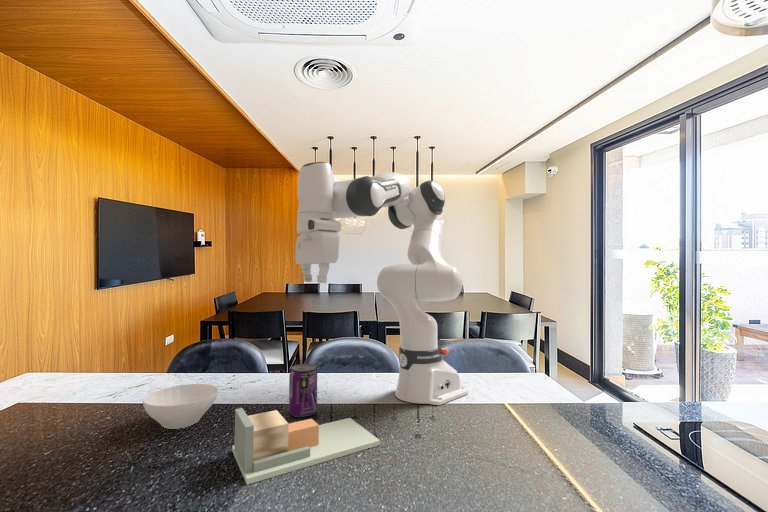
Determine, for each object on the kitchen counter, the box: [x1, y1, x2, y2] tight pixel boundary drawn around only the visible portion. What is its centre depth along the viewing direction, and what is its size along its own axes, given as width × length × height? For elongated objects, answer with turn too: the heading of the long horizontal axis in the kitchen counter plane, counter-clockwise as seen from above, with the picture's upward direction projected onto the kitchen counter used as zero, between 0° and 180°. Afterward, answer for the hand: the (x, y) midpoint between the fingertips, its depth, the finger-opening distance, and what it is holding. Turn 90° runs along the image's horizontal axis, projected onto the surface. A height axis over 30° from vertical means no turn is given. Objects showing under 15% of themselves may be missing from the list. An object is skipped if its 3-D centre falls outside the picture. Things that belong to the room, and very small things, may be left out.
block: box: [247, 409, 289, 461], centre depth 71 cm, size 6×8×6 cm
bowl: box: [142, 383, 219, 430], centre depth 88 cm, size 16×16×7 cm
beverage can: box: [288, 363, 318, 418], centre depth 94 cm, size 7×7×12 cm
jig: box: [231, 407, 381, 486], centre depth 75 cm, size 27×14×9 cm, turn 122°
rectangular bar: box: [288, 418, 320, 451], centre depth 73 cm, size 12×4×4 cm, turn 122°
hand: (314, 282), depth 89 cm, fingers open, 8 cm apart
